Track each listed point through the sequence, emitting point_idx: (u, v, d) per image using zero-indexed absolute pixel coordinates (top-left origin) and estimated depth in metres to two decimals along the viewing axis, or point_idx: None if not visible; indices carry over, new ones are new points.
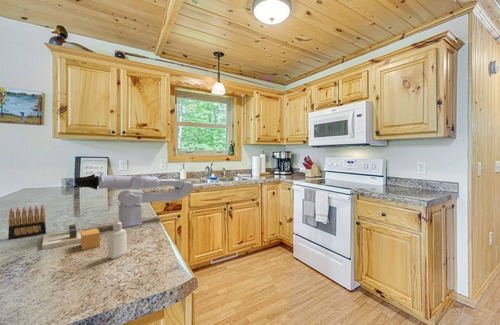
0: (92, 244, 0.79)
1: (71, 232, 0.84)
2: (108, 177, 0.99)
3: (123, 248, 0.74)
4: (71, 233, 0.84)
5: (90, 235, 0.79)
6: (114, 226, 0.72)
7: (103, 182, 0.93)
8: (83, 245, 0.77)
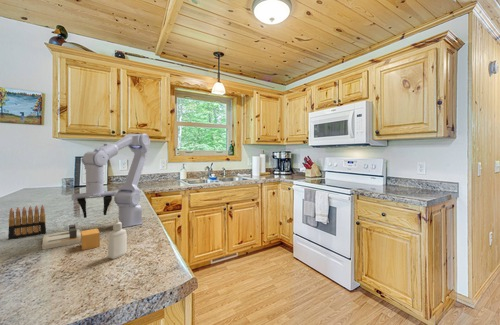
0: (92, 244, 0.79)
1: (71, 232, 0.84)
2: (101, 188, 0.89)
3: (123, 248, 0.74)
4: (71, 233, 0.84)
5: (90, 235, 0.79)
6: (114, 226, 0.72)
7: None
8: (83, 245, 0.77)
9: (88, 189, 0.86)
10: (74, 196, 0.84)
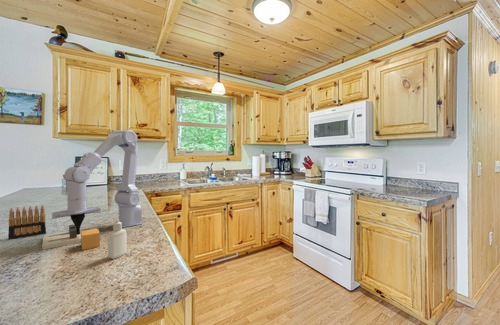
0: (92, 244, 0.79)
1: (71, 232, 0.84)
2: (83, 205, 0.85)
3: (123, 248, 0.74)
4: (71, 233, 0.84)
5: (90, 235, 0.79)
6: (114, 226, 0.72)
7: None
8: (83, 245, 0.77)
9: (69, 207, 0.83)
10: (54, 214, 0.81)
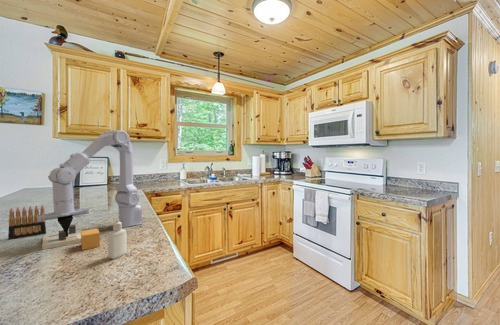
0: (92, 244, 0.79)
1: (60, 234, 0.82)
2: (70, 206, 0.83)
3: (123, 248, 0.74)
4: (60, 235, 0.82)
5: (90, 235, 0.79)
6: (114, 226, 0.72)
7: None
8: (83, 245, 0.77)
9: (56, 209, 0.80)
10: (40, 217, 0.78)
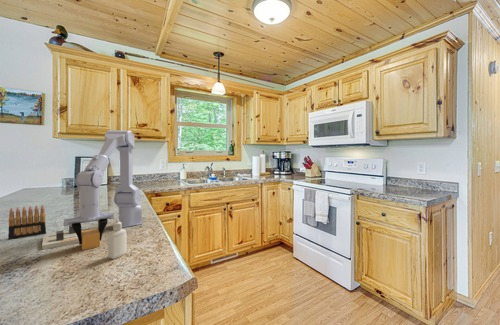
0: (92, 244, 0.79)
1: (58, 234, 0.81)
2: (97, 211, 0.80)
3: (123, 248, 0.74)
4: (58, 235, 0.81)
5: (90, 235, 0.79)
6: (114, 226, 0.72)
7: (113, 214, 0.85)
8: (83, 245, 0.77)
9: (82, 213, 0.78)
10: (66, 221, 0.76)
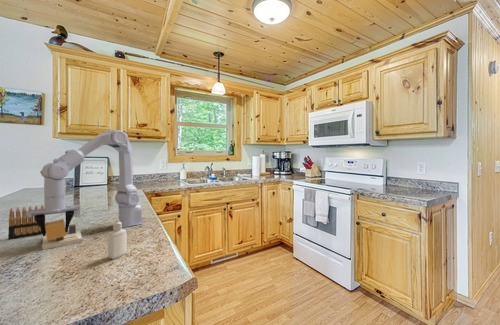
0: (57, 234, 0.80)
1: None
2: (62, 203, 0.81)
3: (123, 248, 0.74)
4: None
5: (54, 225, 0.79)
6: (114, 226, 0.72)
7: None
8: (47, 235, 0.78)
9: (46, 205, 0.79)
10: (30, 213, 0.77)
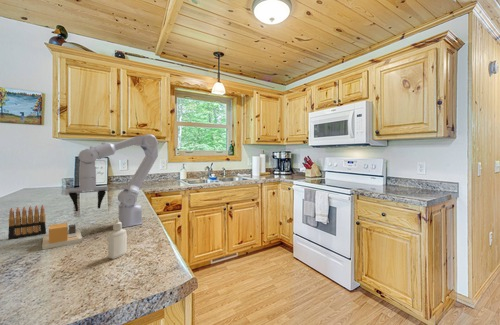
0: (59, 238, 0.80)
1: None
2: (93, 183, 0.95)
3: (123, 248, 0.74)
4: None
5: (57, 229, 0.80)
6: (114, 226, 0.72)
7: None
8: (50, 238, 0.79)
9: (81, 184, 0.93)
10: (68, 190, 0.91)
